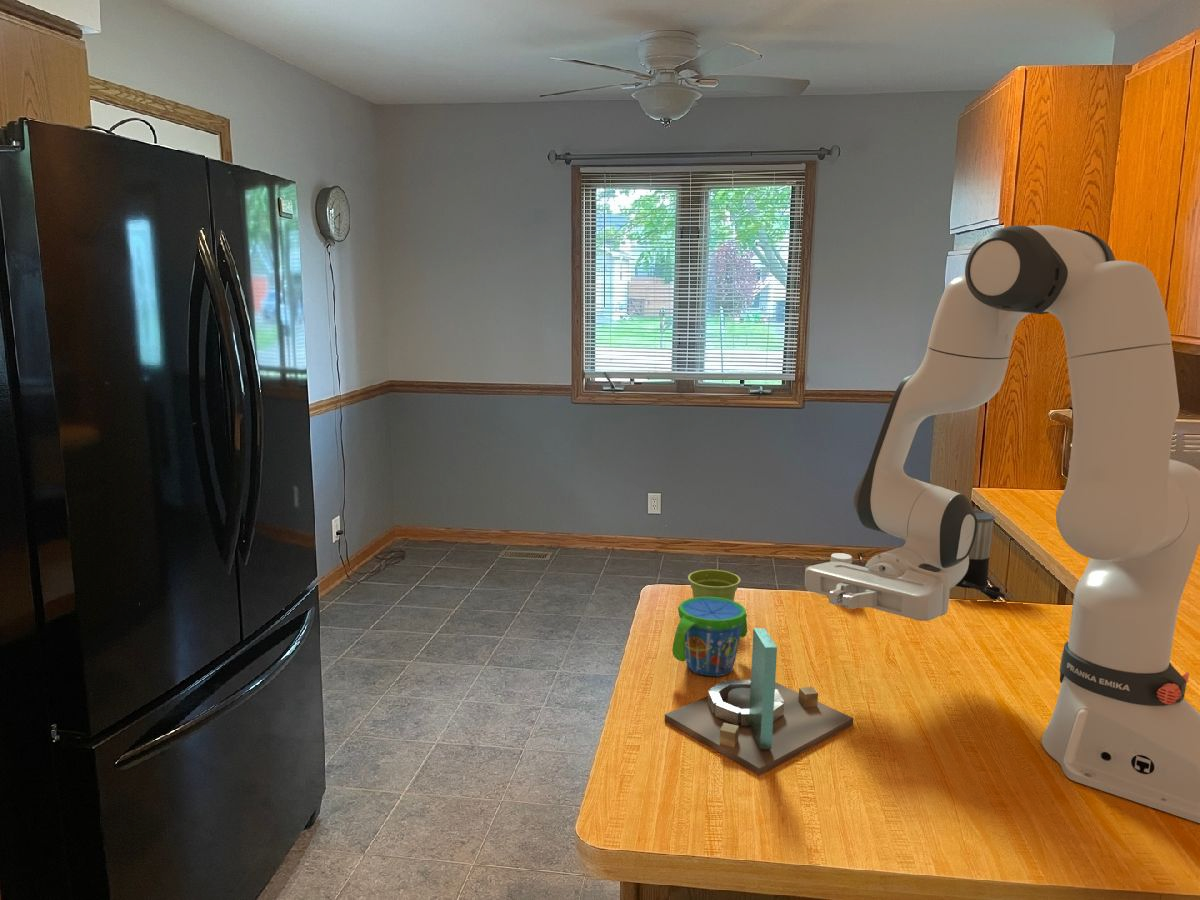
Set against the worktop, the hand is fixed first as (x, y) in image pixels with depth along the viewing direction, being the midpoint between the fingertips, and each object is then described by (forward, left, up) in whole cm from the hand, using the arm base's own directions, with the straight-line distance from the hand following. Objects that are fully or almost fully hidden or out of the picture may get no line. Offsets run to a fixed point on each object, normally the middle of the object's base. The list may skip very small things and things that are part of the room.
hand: (839, 600), depth 116 cm
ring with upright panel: (+5, +12, -15) cm, 20 cm away
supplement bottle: (+27, -40, -17) cm, 51 cm away
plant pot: (+33, -10, -17) cm, 38 cm away
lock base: (+4, +11, -17) cm, 20 cm away
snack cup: (+20, +4, -17) cm, 27 cm away
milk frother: (+13, -66, -17) cm, 69 cm away
